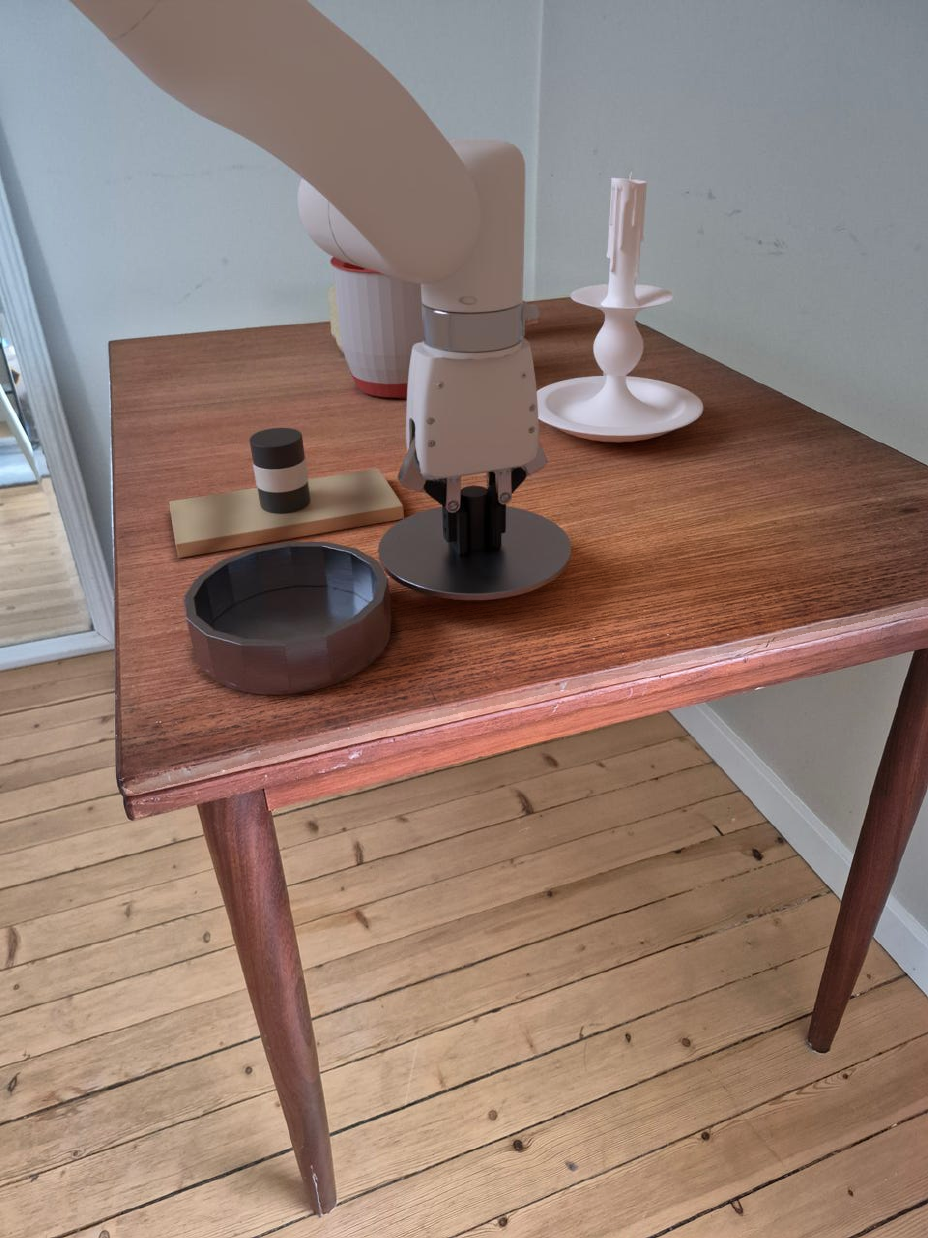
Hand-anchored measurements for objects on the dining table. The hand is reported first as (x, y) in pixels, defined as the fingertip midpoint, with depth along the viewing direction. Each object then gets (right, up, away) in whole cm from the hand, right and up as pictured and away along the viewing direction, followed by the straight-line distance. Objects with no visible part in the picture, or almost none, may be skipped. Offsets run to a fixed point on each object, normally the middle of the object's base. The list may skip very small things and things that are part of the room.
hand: (474, 542), depth 77 cm
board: (-19, +4, +14) cm, 24 cm away
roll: (-19, +5, +13) cm, 24 cm away
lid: (0, -1, 0) cm, 1 cm away
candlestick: (+17, +18, +33) cm, 42 cm away
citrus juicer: (-9, +25, +47) cm, 54 cm away
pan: (-15, -8, -5) cm, 17 cm away
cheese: (-19, +37, +65) cm, 77 cm away
